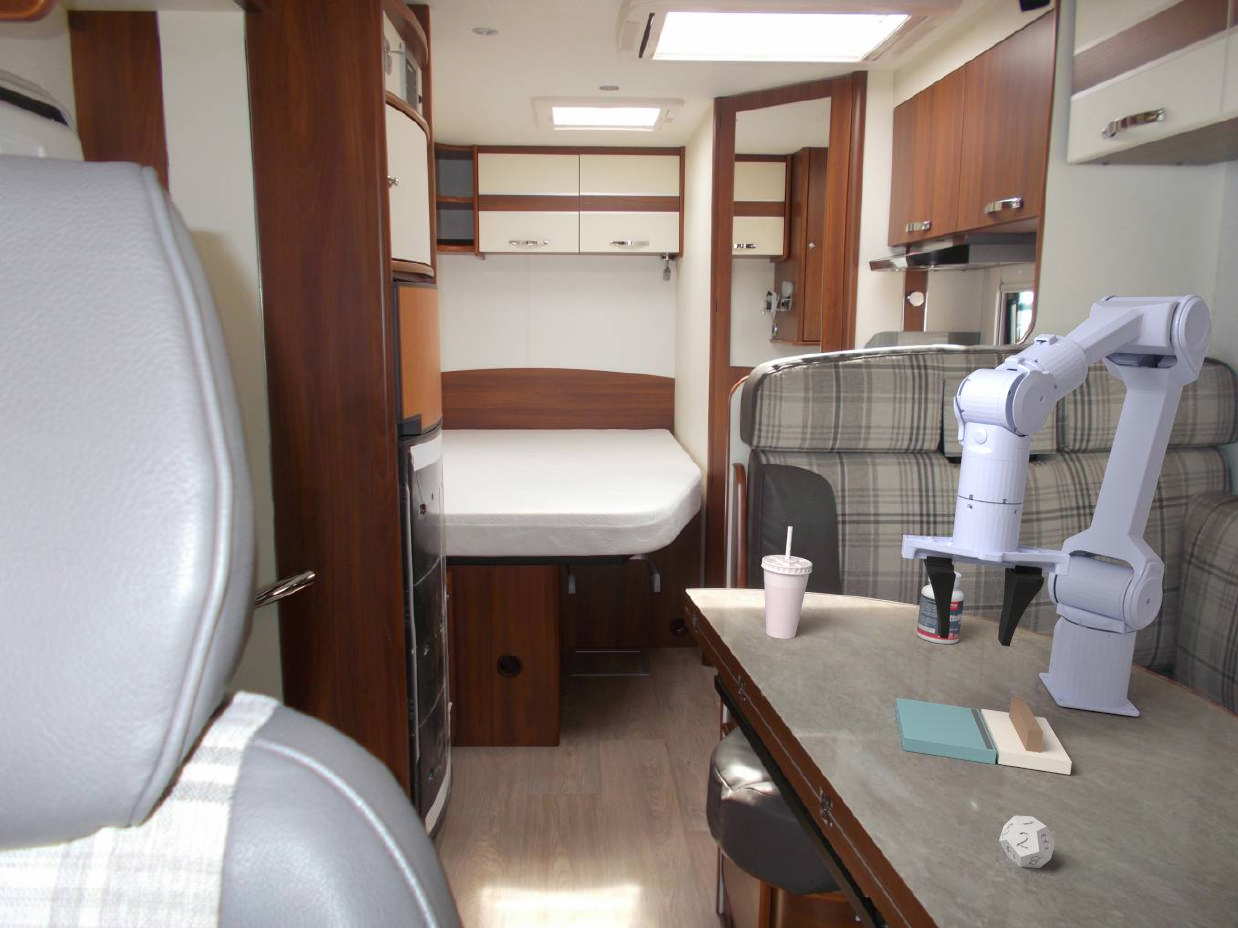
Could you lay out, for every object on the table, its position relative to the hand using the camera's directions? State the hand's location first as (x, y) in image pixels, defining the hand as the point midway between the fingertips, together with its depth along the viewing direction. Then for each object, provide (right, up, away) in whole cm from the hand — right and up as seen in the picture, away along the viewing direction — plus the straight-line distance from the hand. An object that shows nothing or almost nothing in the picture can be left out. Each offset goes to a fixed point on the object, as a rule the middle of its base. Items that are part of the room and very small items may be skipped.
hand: (973, 639), depth 85 cm
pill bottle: (+8, -6, +32) cm, 34 cm away
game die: (-4, -13, -19) cm, 23 cm away
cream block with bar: (+5, -10, 0) cm, 11 cm away
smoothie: (-13, -5, +29) cm, 33 cm away
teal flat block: (-2, -10, +2) cm, 10 cm away
